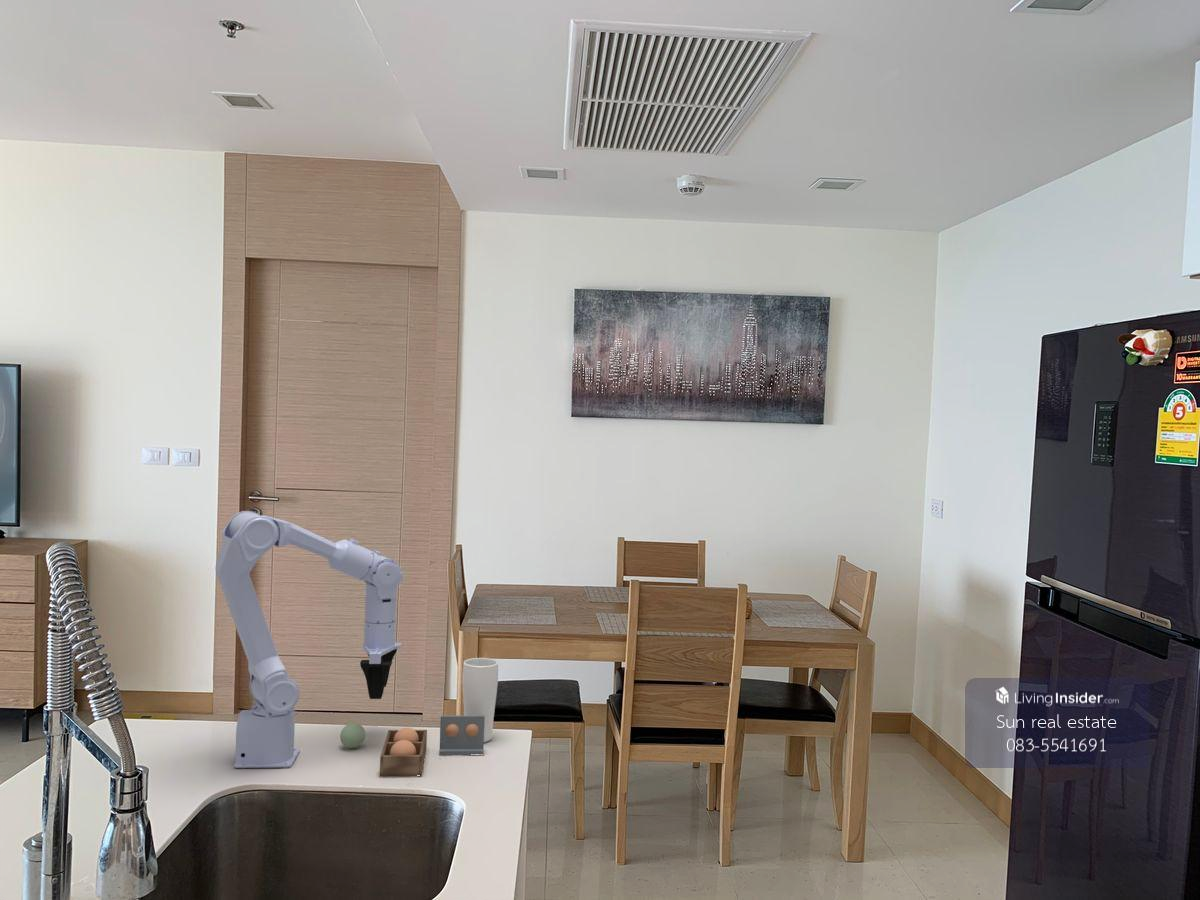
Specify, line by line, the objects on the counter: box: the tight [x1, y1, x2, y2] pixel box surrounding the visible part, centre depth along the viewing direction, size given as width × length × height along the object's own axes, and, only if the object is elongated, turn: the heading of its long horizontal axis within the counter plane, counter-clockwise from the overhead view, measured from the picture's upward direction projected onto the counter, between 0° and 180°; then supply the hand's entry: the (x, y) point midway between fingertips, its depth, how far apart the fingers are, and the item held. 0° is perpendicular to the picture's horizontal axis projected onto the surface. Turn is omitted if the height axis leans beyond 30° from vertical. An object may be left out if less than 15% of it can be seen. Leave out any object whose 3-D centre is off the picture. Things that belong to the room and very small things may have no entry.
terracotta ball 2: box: [390, 740, 416, 755], centre depth 159 cm, size 4×4×4 cm
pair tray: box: [379, 729, 428, 777], centre depth 163 cm, size 7×14×4 cm, turn 7°
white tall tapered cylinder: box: [461, 657, 499, 743], centre depth 176 cm, size 7×7×15 cm
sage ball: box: [339, 722, 366, 749], centre depth 169 cm, size 4×4×4 cm
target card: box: [438, 714, 485, 756], centre depth 168 cm, size 8×3×7 cm, turn 97°
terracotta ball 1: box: [393, 727, 419, 742], centre depth 166 cm, size 4×4×4 cm
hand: (378, 692), depth 172 cm, fingers open, 7 cm apart
